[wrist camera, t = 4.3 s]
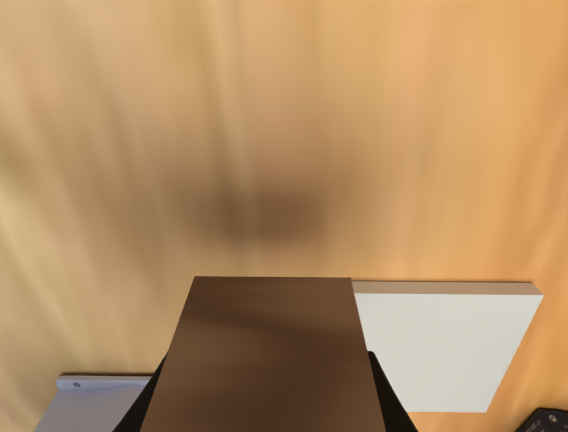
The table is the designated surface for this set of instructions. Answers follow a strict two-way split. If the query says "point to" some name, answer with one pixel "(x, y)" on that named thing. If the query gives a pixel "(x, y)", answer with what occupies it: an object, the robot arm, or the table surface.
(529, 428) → the small box
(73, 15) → the table surface
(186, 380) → the walnut block
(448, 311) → the ceramic tile
